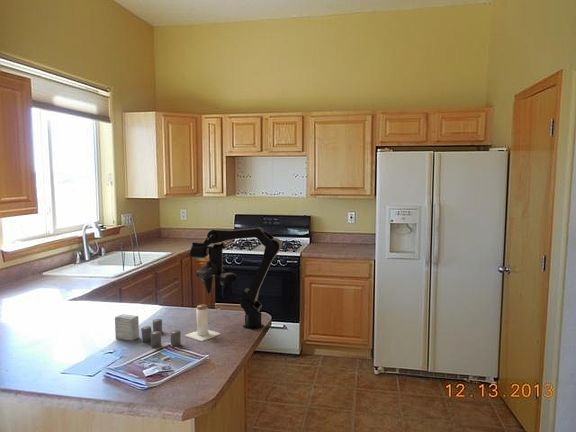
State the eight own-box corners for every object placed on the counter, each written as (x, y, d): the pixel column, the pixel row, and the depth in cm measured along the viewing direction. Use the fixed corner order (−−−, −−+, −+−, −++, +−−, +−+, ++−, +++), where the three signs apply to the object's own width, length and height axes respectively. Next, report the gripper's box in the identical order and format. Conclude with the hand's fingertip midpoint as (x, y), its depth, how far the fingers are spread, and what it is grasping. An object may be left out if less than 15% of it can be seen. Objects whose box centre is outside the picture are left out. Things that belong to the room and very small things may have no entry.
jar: (210, 333, 166) (209, 305, 165) (202, 336, 163) (201, 308, 162) (203, 331, 169) (202, 303, 168) (194, 334, 166) (193, 306, 165)
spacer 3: (163, 345, 155) (163, 332, 155) (154, 348, 152) (154, 335, 152) (157, 343, 157) (157, 330, 157) (149, 346, 155) (148, 333, 154)
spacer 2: (164, 332, 170) (163, 320, 169) (156, 334, 167) (156, 322, 166) (158, 330, 172) (158, 318, 171) (151, 332, 169) (150, 320, 169)
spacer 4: (182, 344, 156) (182, 331, 156) (174, 347, 153) (174, 334, 153) (176, 342, 158) (176, 329, 158) (168, 345, 155) (168, 332, 155)
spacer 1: (154, 338, 161) (152, 326, 161) (149, 342, 158) (148, 329, 157) (145, 338, 162) (144, 326, 161) (140, 342, 158) (139, 329, 158)
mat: (220, 334, 167) (220, 333, 167) (201, 341, 159) (201, 340, 159) (204, 329, 173) (204, 328, 173) (184, 336, 165) (184, 335, 165)
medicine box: (139, 337, 164) (139, 315, 163) (131, 341, 160) (131, 319, 159) (123, 335, 166) (122, 313, 166) (115, 338, 162) (114, 317, 162)
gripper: (186, 258, 176) (186, 295, 177) (216, 263, 164) (217, 302, 166) (206, 255, 185) (207, 290, 186) (236, 260, 173) (237, 297, 174)
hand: (216, 294), depth 178 cm, fingers open, 9 cm apart
